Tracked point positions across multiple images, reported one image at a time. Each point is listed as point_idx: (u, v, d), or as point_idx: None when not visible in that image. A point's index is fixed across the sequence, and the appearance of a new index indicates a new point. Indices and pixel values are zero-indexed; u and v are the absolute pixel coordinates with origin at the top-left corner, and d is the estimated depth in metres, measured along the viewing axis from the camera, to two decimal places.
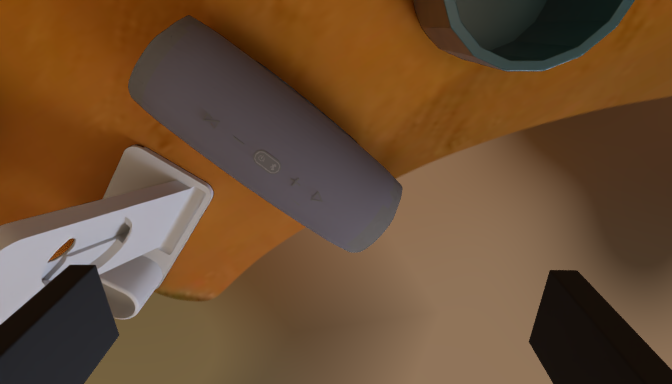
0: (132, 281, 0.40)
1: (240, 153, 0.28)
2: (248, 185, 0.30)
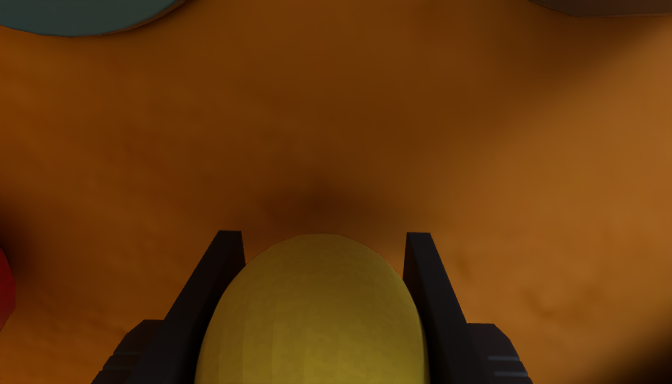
0: None
1: None
2: None
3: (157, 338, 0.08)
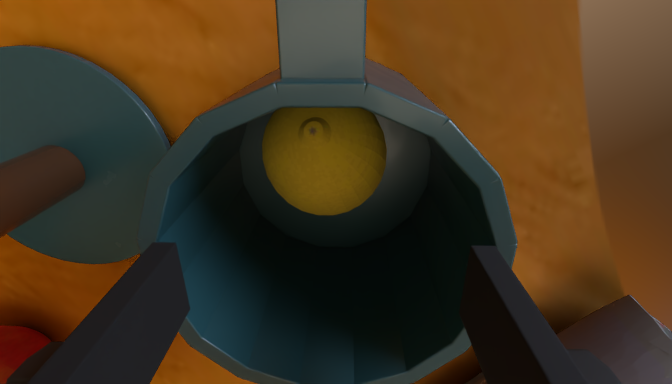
0: None
1: None
2: None
3: (47, 366, 0.07)
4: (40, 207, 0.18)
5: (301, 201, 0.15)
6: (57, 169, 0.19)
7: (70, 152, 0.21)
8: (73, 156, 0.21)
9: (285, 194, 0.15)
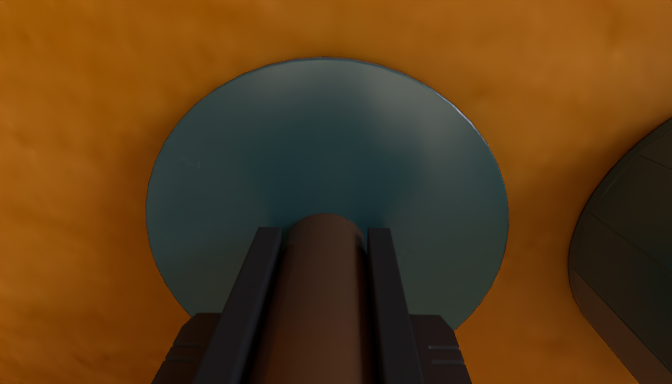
0: None
1: None
2: None
3: (219, 329, 0.08)
4: None
5: None
6: (363, 259, 0.12)
7: (355, 224, 0.13)
8: (358, 230, 0.13)
9: None
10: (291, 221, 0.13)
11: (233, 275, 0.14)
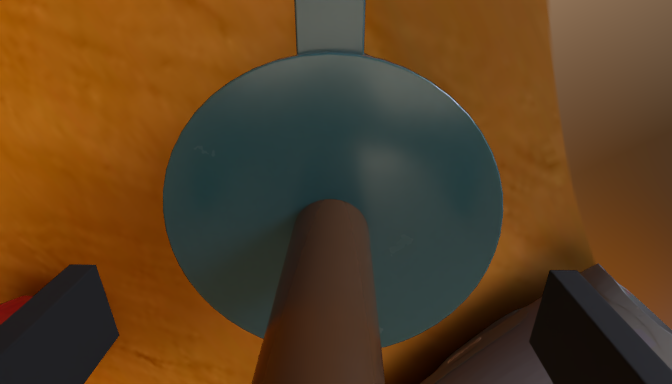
0: None
1: None
2: None
3: None
4: None
5: None
6: (367, 241, 0.13)
7: (358, 209, 0.14)
8: (362, 215, 0.14)
9: None
10: (299, 207, 0.14)
11: (244, 258, 0.15)
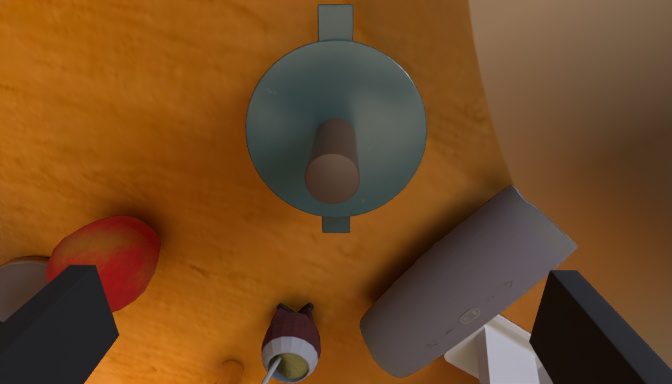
0: None
1: (459, 331, 0.36)
2: None
3: None
4: None
5: None
6: (354, 135, 0.25)
7: (350, 124, 0.26)
8: (352, 127, 0.26)
9: None
10: (318, 123, 0.26)
11: (287, 154, 0.27)
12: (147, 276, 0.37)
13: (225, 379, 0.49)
